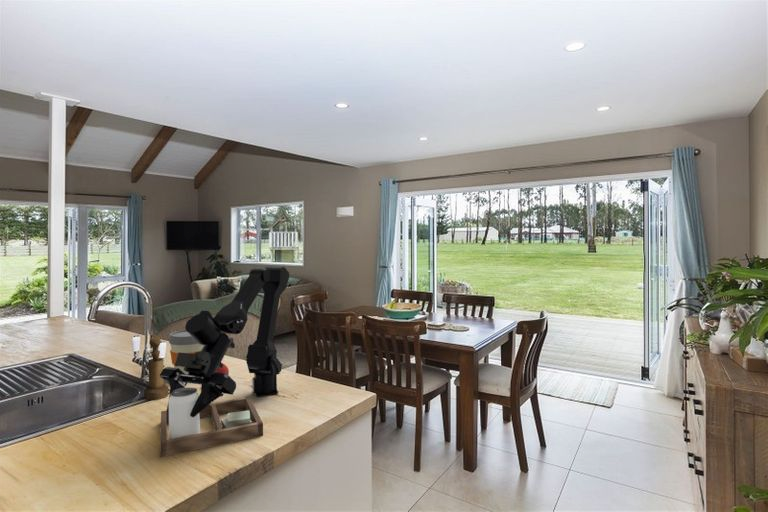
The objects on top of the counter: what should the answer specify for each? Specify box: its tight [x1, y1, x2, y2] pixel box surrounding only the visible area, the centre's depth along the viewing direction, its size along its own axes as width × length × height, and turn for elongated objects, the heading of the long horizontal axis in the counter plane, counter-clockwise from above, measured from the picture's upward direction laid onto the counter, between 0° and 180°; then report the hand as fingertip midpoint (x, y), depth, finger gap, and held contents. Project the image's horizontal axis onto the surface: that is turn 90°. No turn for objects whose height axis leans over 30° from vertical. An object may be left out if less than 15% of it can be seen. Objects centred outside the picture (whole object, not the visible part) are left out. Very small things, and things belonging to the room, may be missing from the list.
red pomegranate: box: [216, 362, 229, 375], centre depth 137 cm, size 6×6×8 cm
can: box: [168, 387, 201, 440], centre depth 99 cm, size 6×6×12 cm
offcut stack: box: [220, 410, 252, 429], centre depth 104 cm, size 7×6×4 cm
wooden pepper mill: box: [143, 336, 169, 401], centre depth 127 cm, size 7×6×18 cm
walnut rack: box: [159, 396, 264, 458], centre depth 106 cm, size 22×19×3 cm
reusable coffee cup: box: [168, 329, 204, 374], centre depth 146 cm, size 13×13×15 cm
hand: (179, 414), depth 97 cm, fingers closed on can, 6 cm apart
